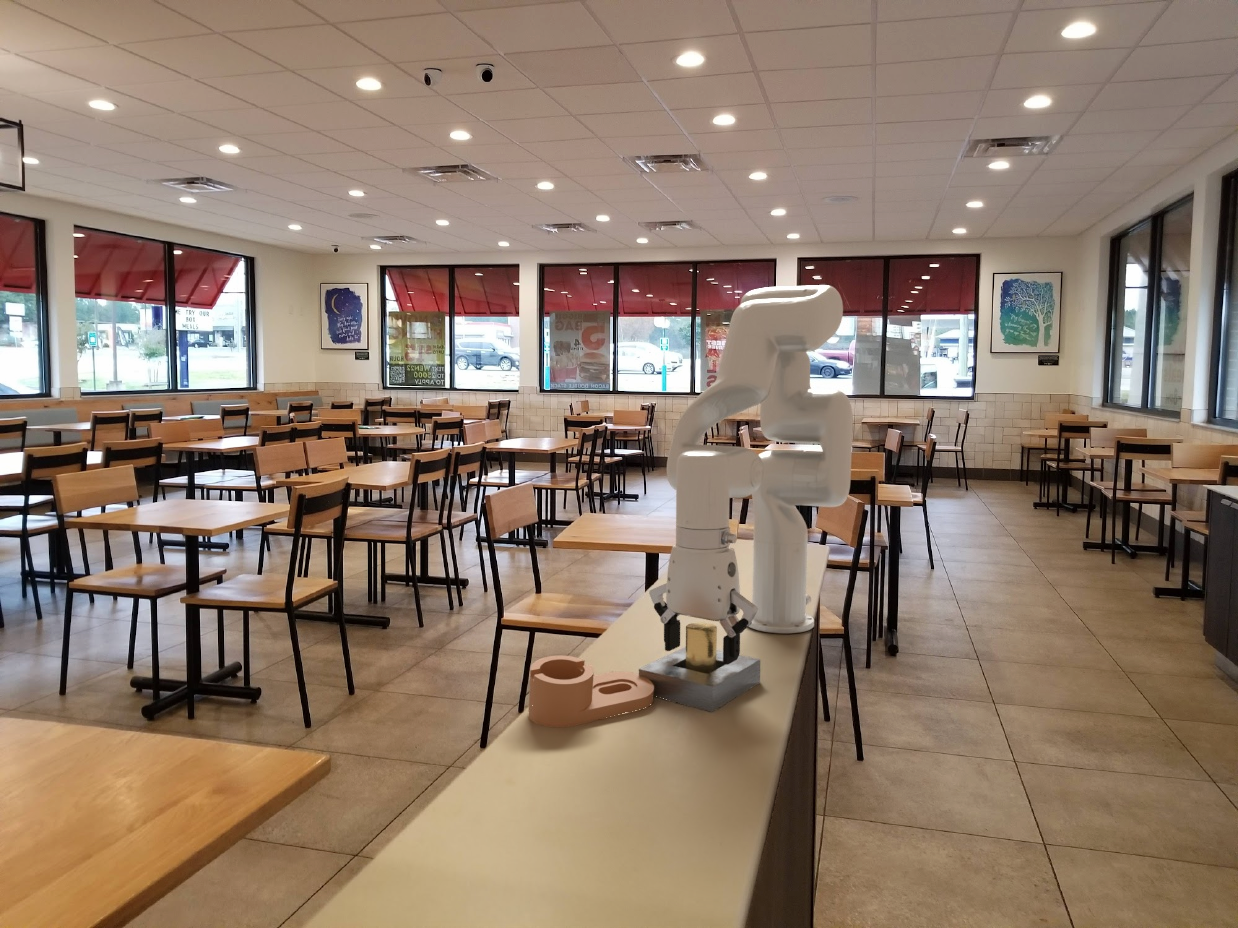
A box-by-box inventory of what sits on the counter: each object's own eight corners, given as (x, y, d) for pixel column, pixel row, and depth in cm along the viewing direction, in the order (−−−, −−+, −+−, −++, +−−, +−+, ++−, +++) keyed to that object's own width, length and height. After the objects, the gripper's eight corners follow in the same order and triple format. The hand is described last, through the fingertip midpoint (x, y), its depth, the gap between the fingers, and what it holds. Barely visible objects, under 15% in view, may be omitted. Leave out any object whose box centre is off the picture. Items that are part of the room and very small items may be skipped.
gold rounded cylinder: (695, 680, 129) (696, 620, 128) (721, 686, 127) (722, 626, 126) (679, 688, 126) (680, 627, 125) (706, 695, 123) (706, 633, 122)
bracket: (544, 738, 111) (547, 688, 109) (518, 708, 118) (520, 661, 116) (663, 711, 120) (667, 664, 118) (633, 684, 127) (636, 640, 125)
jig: (690, 666, 135) (690, 644, 135) (760, 682, 128) (760, 659, 128) (638, 692, 124) (638, 668, 124) (712, 711, 117) (712, 686, 117)
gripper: (769, 540, 122) (767, 659, 124) (665, 527, 132) (664, 637, 134) (744, 549, 116) (742, 674, 118) (637, 535, 126) (636, 650, 128)
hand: (700, 654), depth 126 cm, fingers open, 9 cm apart
